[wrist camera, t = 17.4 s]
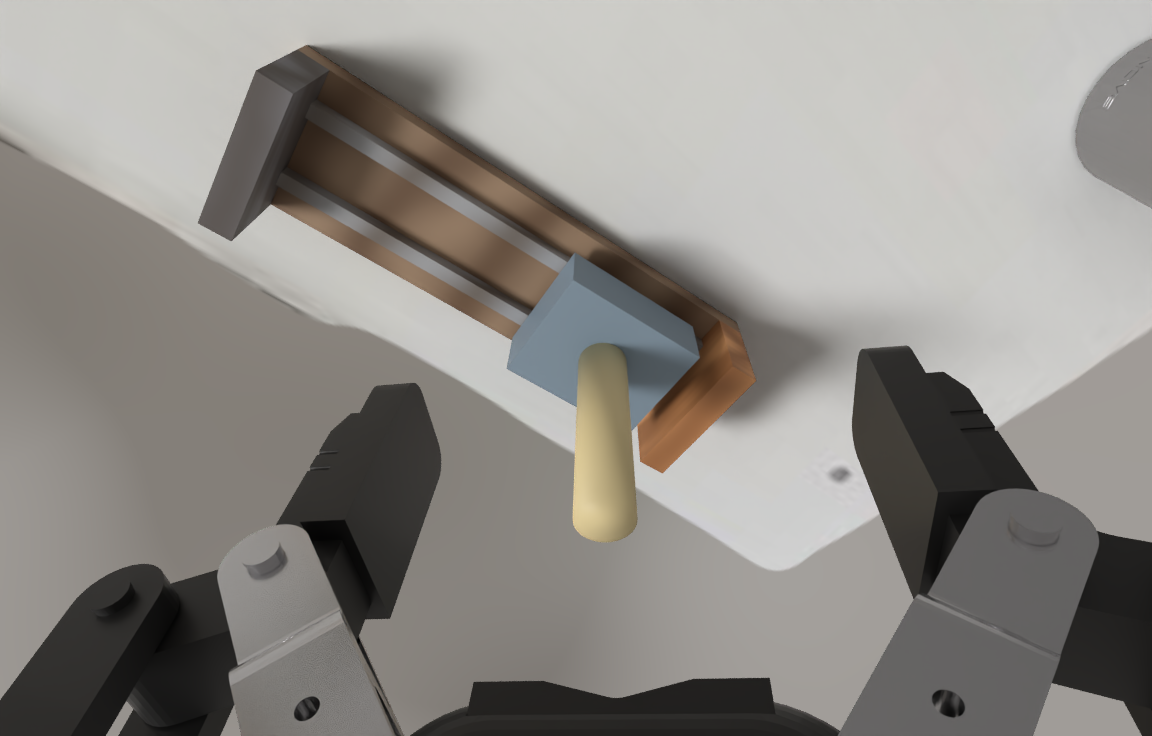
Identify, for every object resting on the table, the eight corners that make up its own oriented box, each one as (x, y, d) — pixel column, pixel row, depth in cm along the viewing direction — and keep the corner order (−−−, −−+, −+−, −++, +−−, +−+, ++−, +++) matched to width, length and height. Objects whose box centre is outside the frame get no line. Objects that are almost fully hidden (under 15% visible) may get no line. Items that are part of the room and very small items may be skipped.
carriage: (692, 326, 49) (735, 514, 34) (625, 401, 53) (637, 599, 38) (574, 252, 46) (565, 422, 31) (512, 337, 50) (477, 525, 35)
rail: (736, 322, 52) (756, 380, 46) (655, 410, 57) (662, 473, 50) (306, 45, 42) (255, 70, 36) (250, 179, 46) (197, 223, 40)
